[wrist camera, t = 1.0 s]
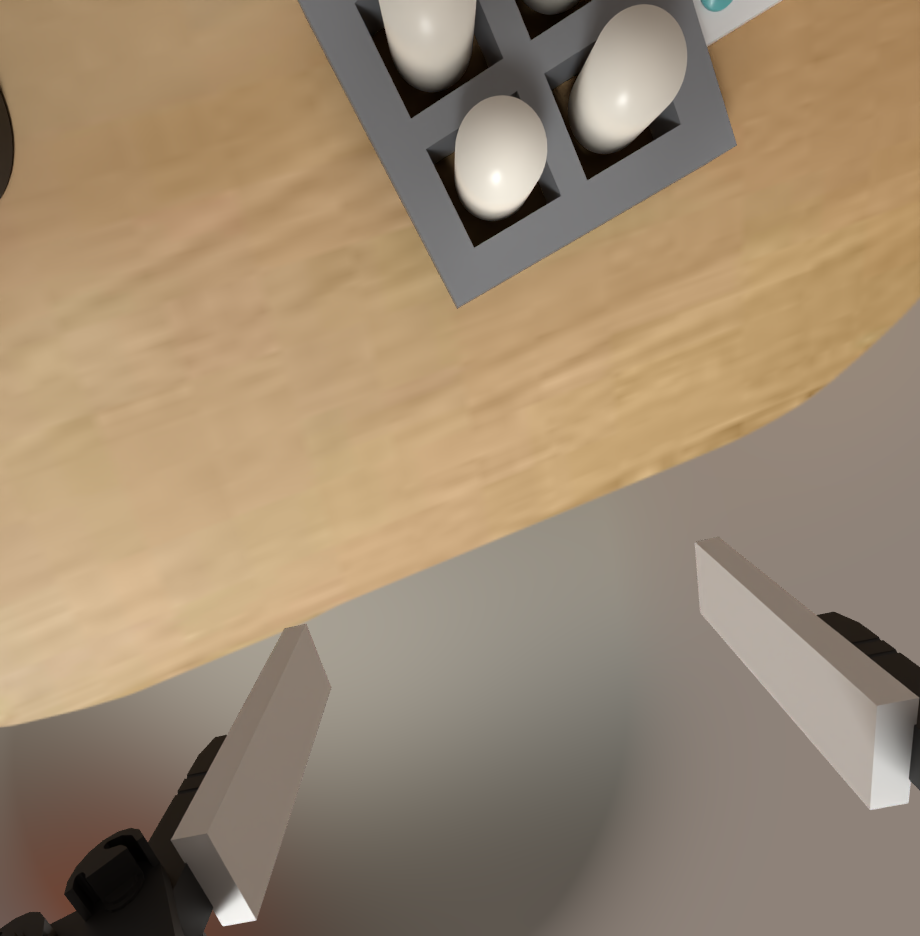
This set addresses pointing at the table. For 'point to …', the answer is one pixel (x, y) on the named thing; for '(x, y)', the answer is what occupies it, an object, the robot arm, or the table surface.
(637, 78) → the button
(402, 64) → the button
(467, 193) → the button
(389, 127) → the board
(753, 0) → the card
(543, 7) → the button
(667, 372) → the table surface
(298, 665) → the robot arm
